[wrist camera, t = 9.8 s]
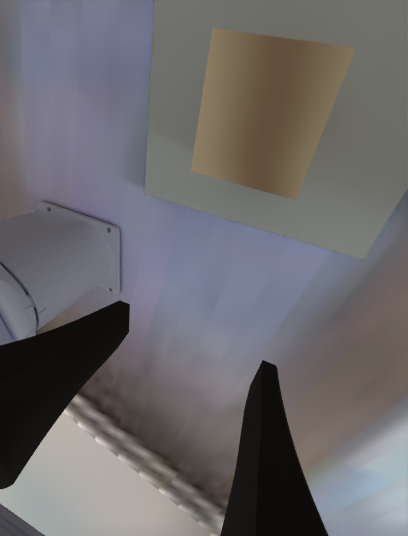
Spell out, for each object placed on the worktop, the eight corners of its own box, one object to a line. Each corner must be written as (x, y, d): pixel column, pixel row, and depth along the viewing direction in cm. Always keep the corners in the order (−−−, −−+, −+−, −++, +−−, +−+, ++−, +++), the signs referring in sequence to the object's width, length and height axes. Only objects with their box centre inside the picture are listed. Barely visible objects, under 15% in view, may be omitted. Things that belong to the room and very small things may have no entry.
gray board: (152, 191, 19) (144, 194, 18) (167, -26, 13) (156, -40, 12) (359, 252, 16) (363, 260, 15) (510, 1, 10) (534, -16, 9)
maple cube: (220, 163, 15) (190, 171, 11) (241, 66, 13) (212, 27, 9) (296, 183, 14) (295, 200, 10) (336, 82, 12) (356, 47, 8)
